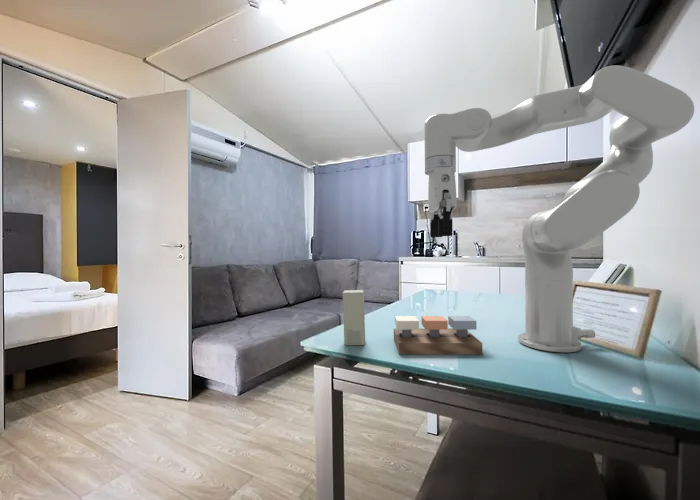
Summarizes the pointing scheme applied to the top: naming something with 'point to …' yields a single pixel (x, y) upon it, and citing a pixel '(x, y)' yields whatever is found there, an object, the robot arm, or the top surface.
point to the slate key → (462, 324)
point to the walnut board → (436, 343)
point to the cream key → (406, 324)
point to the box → (353, 317)
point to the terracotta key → (434, 324)
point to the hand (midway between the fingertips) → (440, 236)
